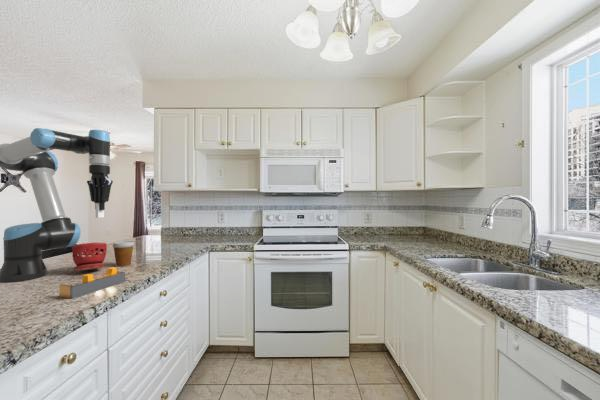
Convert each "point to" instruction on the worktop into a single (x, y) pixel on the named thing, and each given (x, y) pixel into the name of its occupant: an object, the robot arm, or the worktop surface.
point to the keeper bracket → (91, 285)
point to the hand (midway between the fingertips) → (99, 217)
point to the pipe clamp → (90, 276)
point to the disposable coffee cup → (123, 252)
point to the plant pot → (89, 261)
